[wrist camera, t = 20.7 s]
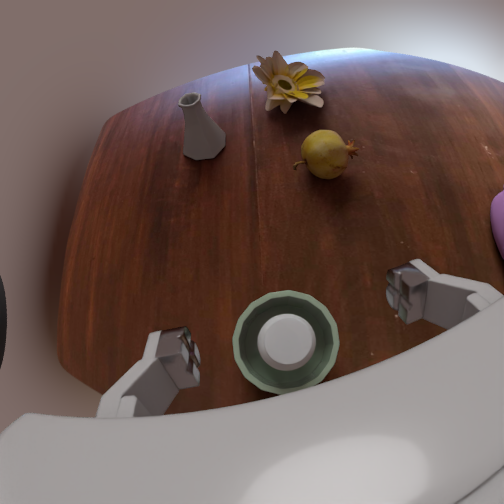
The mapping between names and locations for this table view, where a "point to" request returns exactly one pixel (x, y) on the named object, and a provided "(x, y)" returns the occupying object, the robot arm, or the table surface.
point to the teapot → (498, 221)
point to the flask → (200, 130)
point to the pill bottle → (286, 342)
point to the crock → (254, 321)
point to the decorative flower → (288, 82)
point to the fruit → (326, 154)
